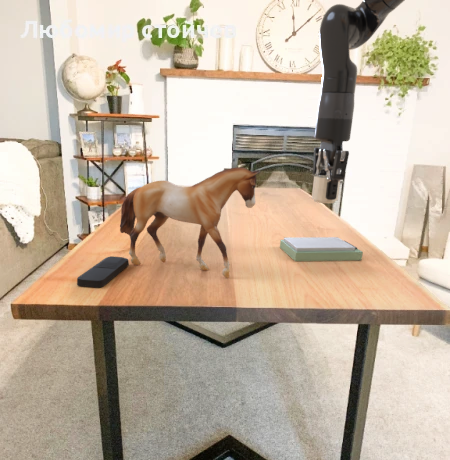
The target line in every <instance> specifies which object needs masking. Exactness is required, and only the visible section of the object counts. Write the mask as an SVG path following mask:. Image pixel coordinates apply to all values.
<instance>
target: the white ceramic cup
mask: <svg viewBox="0 0 450 460" xmlns="http://www.w3.org/2000/svg"><path fill="white" fill-rule="evenodd" d="M327 182H328V176H327V175H316V176H315V175H313V183H312V192H311V193H312V194H311V199H312V200H313V202H314V203H319V204H335V203H336V202H338V200H339V195H340V186H341V181H340V182H338V188H337V196H336V199H335V200H328V199H326V190H327Z"/></svg>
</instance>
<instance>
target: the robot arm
mask: <svg viewBox="0 0 450 460" xmlns="http://www.w3.org/2000/svg"><path fill="white" fill-rule="evenodd" d="M404 2H405V0H362V1H361V2H360V3H359V5H358V6H357V7H355V8H354V7H352V6H349V5H346V4H342V3H339V4H338V3H337V4H334V5H332V6H330V7H329V8H328V9H327V10H326V11H325V13H324V14H323V17H322V19H321V22H320V26H319V33H318V35H319V36H318V38H319V39H318V40H319V52H320V61H321V67H322V77H321V85H320V94H319V99H318V104H317V110H316V120H315V128H314V129H315V130H314V139H315V140H316V141H320V146H319V147H318V146H317V147H314V149H313V161H312V162H313V163H312V175H314V176H316V175H327V176H328V182H327V190H326V199H328V200H335V199H336V196H337V188H338V182H340V183H341V181H343V180H345V175H346V172H347V166H348V162H349V161H348V160H349V156H350V151H349V150H343V143H344V142H349V141H350V139H351V133H352V127H353V118H354V111H355V94H356V86H357V78H358V66H357V64H356V63H355V62H353V61H352V59H351V57H350V55H351V54H350V51H352V50H356V49H359V48H360V47H362V46H364V44H366V43H367V42H368V41H369V40H370V39H371V38H372V37H373V36H374V34H376V32H377V31H378V29H379V28H380V27H381V26H382V25H383V23H384V21H385V20H386V19H387V17H388V16H389V14H391V13H392V12H393V11H394V10H396V9H397V8H398V7H399V6H401V4H402V3H404Z"/></svg>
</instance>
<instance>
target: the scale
mask: <svg viewBox="0 0 450 460" xmlns="http://www.w3.org/2000/svg"><path fill="white" fill-rule="evenodd" d="M279 248H280V249H281V250H282V251H283V252H284V253H285V254H286V255H287V256H289V257H290V258H291V259H292V260H293V261H294V262H334V261H335V262H337V261H338V262H343V261H344V262H345V261H362V259H363V254H364V252H363V251H362V250H360V249H359V248H358V247H356V246H355V245H354V244H352V243H350V242H348V241H347V240H343V239H342V238H340V237H338V236H329V237H328V236H327V237H325V236H323V237H322V236H321V237H320V236H318V237H316V236H315V237H314V236H313V237H312V236H311V237H308V236H306V237H305V236H303V237H301V236H299V237H296V236H295V237H292V236H291V237H283V239H280V242H279Z"/></svg>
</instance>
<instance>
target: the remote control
mask: <svg viewBox="0 0 450 460" xmlns="http://www.w3.org/2000/svg"><path fill="white" fill-rule="evenodd" d="M129 265H130V262H129V258H127V257H122V256H114V255H112V256H107V257H104V258H103V259H102V260H101V261H99V262H98V263H96V264H94V265H93V266H92V267H90V268H89V269H88V270H86V271H84V272H83V273H82V274H81V275H79V276H77V278H76V285H77V287H84V288H85V287H86V288H98V289H99V288H103V287H105V286H106V285H107V284H109V282H111V281H112V280H113V279H114V278H115V277H117V276H118V275H119V274H120V273H121V272H122V271H124V270H125V269H126V268H128V266H129Z"/></svg>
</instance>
